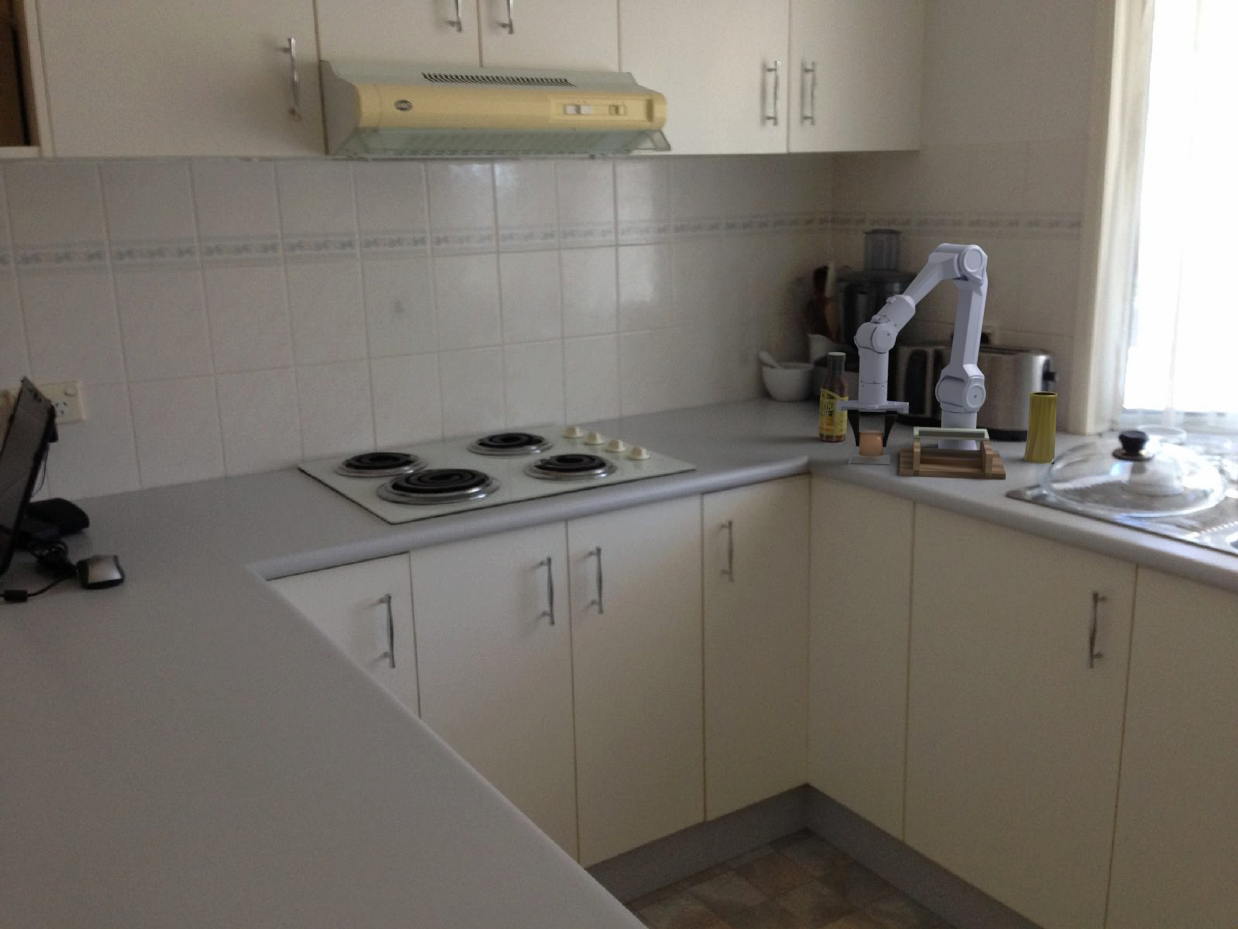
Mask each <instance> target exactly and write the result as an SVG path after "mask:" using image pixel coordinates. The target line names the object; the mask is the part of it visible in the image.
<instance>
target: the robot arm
mask: <svg viewBox="0 0 1238 929" xmlns="http://www.w3.org/2000/svg"><path fill="white" fill-rule="evenodd" d="M987 264H988V255H987V254H986V253H985V252H984V250H983V249H982V248H981V247H980V246H979V245H976V244H955V243H947V242H944V243H943V242H942V243H941V244H939V245H938V246H936V247H935V249H934V251H932V252H931V253H930V254H929V255H928V259H927V263H926V264H925V266H924V267H922V269H921V270H920V272H919V273H918V274H917V276H916V277H915V278H914V279H913V280H912V282H911V283H910V284H909V285H908V287H907V288H906V289H905V291H904V292H903V293H902V294H895V295H893V296H889V297H888V298H887V299H886V301H885V302H886V304H885V305H883V307H882V308H881V309H880V310H879V311H878V312H877V314H874V315H873V316H872V317H871V320H870V321H869V322H864V323H863V324H861V325H860V326H859V328H857V331H856V334H855V335H854V336H853V341H854V345H855V346H856V347H857V349H858V356H859V370H858V371H859V372H858V374H859V375H858V397H857V398H858V399H855V400H854V399H852V400H848V401H837V404H836V411H847V421H849V424H850V426H851V429H852V432H853V433H852V434H853V435H854V442H855V447H859V432H860V420H861V418H860V417H861V416H860V415H861V412H868V413H869V412H874V413H884V430H883V431H884V432H883V433H884V439H883V448H887V444H888V440H889V436H890V434H891V431H892V428H893V426H894V424H895V422H896V420H897V418H898V413H903V414H909V408H910V406H909V402H908V401H907V402H904V401H893V400H892V401H891V400H887V399H888V376H889V373H888V372H889V371H888V370H889V351H890V350H891V349H893V348H894V346H895V345H896V344H895V343H896V338H897V336H898V335H899V332H900V331H901V330H902V329H903V328H904V327H905V325H906V324H907V323H908V322H909V321H910V320H911V319H912V318H913V316H915V314H916V305H917V304H918V303H919V302H920V301H921V300H922V299H923V298H924V297H925V296H926V295H928V294H929V293H930V292H931V291H932V290H933V289H934V288H935V287H936V286H937V285H938V284H939V283H940V282H941V281H943V280H951V281H952V283H953V284H954V285H955V286H956V287H957V289H958V290H959V292H958V300H957V307H956V314H955V323H954V331H953V338H952V343H951V344H952V345H951V346H952V347H951V354H950V362H949V363H948V364H947V366H945V367H944V368H943V369H942V370H941V373H940V378H939V380H938V381H937V383H936V386H935V389H934V390H935V391H934V392H935V393H934V394H935V397H936V401H938V403H939V404H940V406H939V407H940V409H941V420H940V421H941V423H940V424H941V425H940V426H941V427H940V428H964V429H977V415H978V413H977V412H979V411H980V408H981V407H982V406H983V405H984V403H985V400H986V398H987V397H986V396H987V392H986V387H985V378H986V377H985V375H984V374H983V373H982V370H980V369H979V367H978V366H977V365H978V357H979V352H980V345H981V344H980V343H981V336H982V329H983V321H984V314H985V306H986V301H987V300H986V299H987V293H988V284H989V281H988V280H989V279H988V275H987V274H988V273H987V270H986V269H987ZM937 449H963V450H978V448H977V444H976V440H952V439H940V441H939V440H937Z"/></svg>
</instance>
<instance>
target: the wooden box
mask: <svg viewBox="0 0 1238 929" xmlns="http://www.w3.org/2000/svg"><path fill="white" fill-rule="evenodd" d="M912 438H913V440H912V445H913V446H912V447H907V446H906V447H904V446H903V447H900V448H899V449H900V450H899V451H900V452H899V473H898V474H899V476H907V477H908V476H909V477H912V476H913V477H934V478H955V479H956V478H960V479H961V478H962V479H985V480H1006V478H1007V473H1006V470H1005V467H1004V464H1003V460H1002V457H1001V455H1000V451H999V450H993V449H992V446H991V443H990V440H989V441H982V440H979V449H977V450H963V449H938V448H934V447H933V448H929V447H926V448H925V447H921V438H914V435H913V436H912Z"/></svg>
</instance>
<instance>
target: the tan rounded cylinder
mask: <svg viewBox="0 0 1238 929" xmlns="http://www.w3.org/2000/svg"><path fill="white" fill-rule="evenodd" d="M883 439H884V432H883V431H882V430H881V431H880V430H874V429H873V430H870V429H869V430H868V429H867V430H862V431H859V446H858V454H859V455H861V456H866V457H876V456H882V455H884V447H883Z"/></svg>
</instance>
